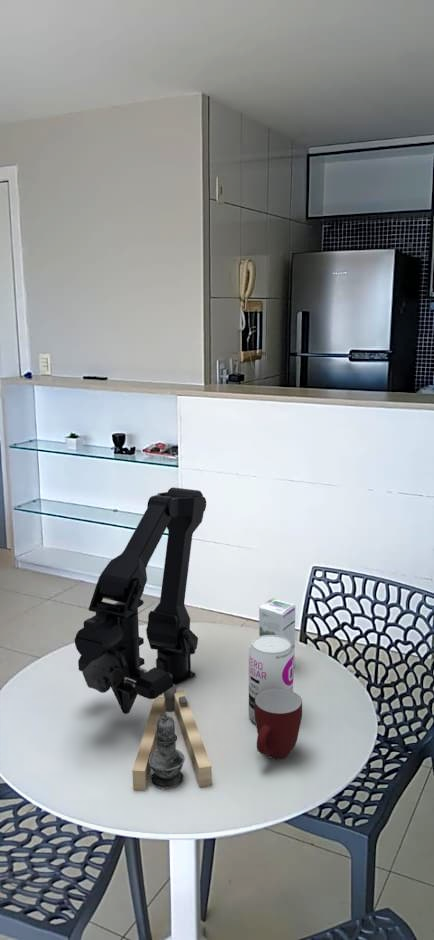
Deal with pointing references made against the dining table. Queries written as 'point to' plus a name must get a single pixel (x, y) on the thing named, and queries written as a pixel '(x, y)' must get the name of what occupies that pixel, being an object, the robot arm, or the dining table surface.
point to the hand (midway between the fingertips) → (126, 712)
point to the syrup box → (278, 620)
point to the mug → (277, 721)
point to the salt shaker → (166, 756)
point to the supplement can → (269, 666)
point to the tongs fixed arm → (190, 734)
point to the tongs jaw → (147, 745)
